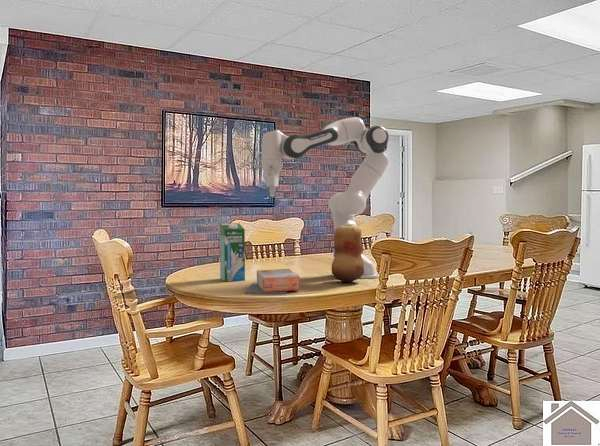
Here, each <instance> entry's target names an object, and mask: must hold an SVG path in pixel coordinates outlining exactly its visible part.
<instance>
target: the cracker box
mask: <svg viewBox="0 0 600 446" xmlns="http://www.w3.org/2000/svg"><path fill="white" fill-rule="evenodd" d="M256 283H257V284H258V285H259V286H260V287H261V289H262V290H263V291H264V292H274V291H287V292H289V291H301V290H300V275H299V274H298V273H296V272H294V271H292V269H290V268H283V269H282V268H281V269H280V268H279V269H264V270H263V269H258V270H256Z"/></svg>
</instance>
